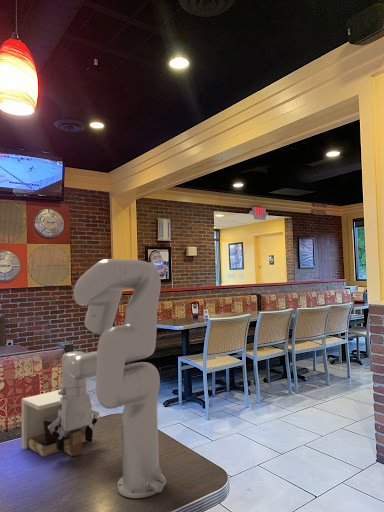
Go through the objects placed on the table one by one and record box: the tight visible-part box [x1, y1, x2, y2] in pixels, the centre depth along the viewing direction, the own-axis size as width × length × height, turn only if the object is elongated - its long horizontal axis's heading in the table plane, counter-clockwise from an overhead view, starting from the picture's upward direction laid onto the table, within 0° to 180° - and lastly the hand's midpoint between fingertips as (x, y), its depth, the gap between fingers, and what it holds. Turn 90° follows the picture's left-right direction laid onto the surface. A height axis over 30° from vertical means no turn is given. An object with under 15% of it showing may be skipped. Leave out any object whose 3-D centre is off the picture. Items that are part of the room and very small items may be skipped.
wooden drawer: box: [27, 429, 87, 457], centre depth 125 cm, size 20×15×7 cm
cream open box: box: [21, 388, 90, 450], centre depth 128 cm, size 14×18×16 cm
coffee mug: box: [43, 413, 69, 446], centre depth 126 cm, size 12×9×10 cm
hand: (75, 445), depth 119 cm, fingers open, 9 cm apart
